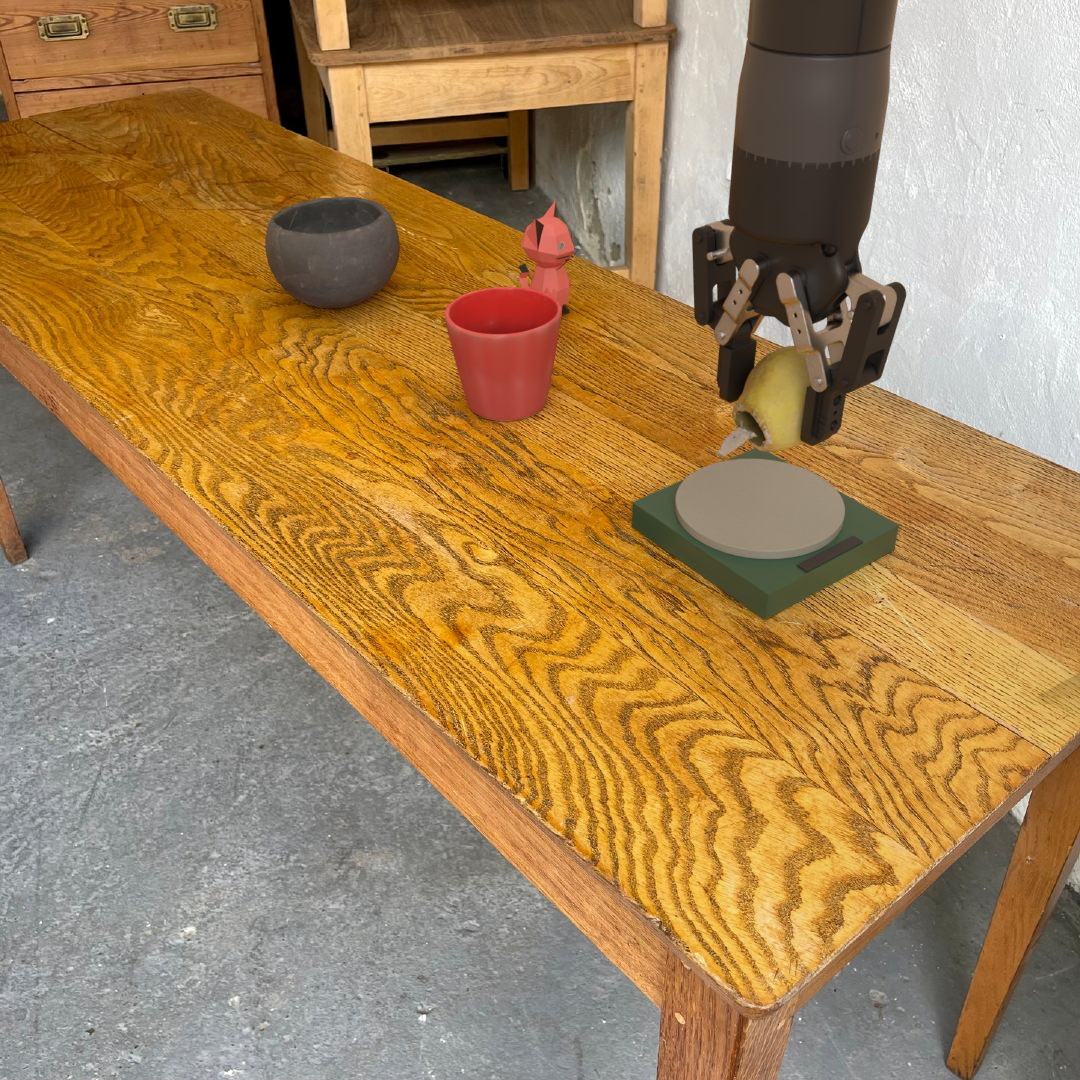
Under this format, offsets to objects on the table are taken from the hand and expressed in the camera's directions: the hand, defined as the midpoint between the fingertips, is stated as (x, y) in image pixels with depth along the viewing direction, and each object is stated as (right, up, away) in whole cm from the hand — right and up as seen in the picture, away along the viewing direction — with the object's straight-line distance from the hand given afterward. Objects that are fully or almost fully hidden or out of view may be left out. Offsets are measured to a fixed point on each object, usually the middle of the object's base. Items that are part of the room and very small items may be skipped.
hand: (774, 417), depth 67 cm
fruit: (0, -2, +1) cm, 2 cm away
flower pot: (-17, +6, +40) cm, 44 cm away
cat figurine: (-13, +17, +56) cm, 60 cm away
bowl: (-37, +20, +62) cm, 75 cm away
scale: (+3, -7, +20) cm, 22 cm away
